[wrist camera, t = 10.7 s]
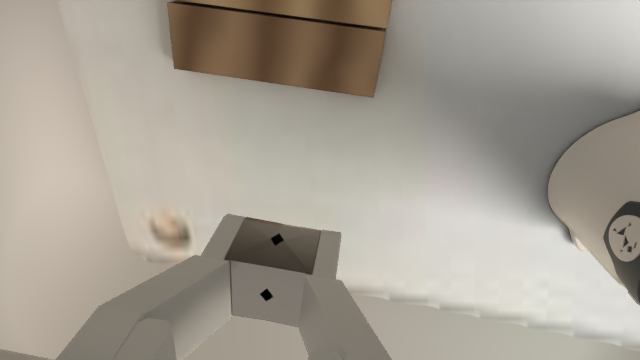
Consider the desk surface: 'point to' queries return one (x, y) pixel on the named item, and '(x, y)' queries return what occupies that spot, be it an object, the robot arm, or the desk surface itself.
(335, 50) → the laid board
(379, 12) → the plank
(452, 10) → the desk surface
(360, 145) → the desk surface
